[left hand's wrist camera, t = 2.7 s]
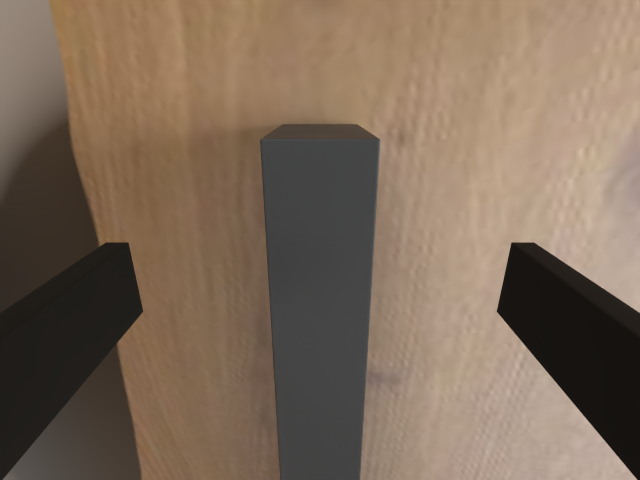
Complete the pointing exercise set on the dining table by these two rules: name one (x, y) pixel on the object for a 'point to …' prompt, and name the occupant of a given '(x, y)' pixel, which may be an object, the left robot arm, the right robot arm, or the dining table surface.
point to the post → (320, 291)
